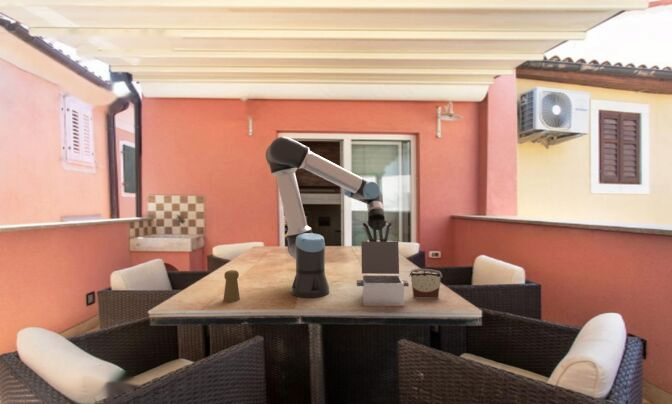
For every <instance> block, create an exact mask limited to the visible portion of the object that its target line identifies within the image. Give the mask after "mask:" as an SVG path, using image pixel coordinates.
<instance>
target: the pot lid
mask: <svg viewBox="0 0 672 404" xmlns="http://www.w3.org/2000/svg"><path fill="white" fill-rule="evenodd" d="M360 245H361V250H360V253H361V254H360V255H361V274H363V275H364V274H365V275H367V274H369V275H371V274H372V275H373V274H376V275H378V274H379V275H381V274H382V275H384V274H385V275H386V274H387V275H389V274H390V275H392V274H394V275H399V274H400V259H399V258H400V256H399V254H400V251H399V241H387V242H369V241H361V244H360Z"/></svg>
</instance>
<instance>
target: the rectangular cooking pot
mask: <svg viewBox="0 0 672 404" xmlns="http://www.w3.org/2000/svg"><path fill="white" fill-rule="evenodd" d="M409 284H410V283H409V282H408V281H407V280H402V279H401V277H400V276H399V275H388V274H387V275H386V274H385V275H384V274H382V275H381V274H379V275H378V274H376V275H373V274H372V275H371V274H369V275H367V274H365V275H364V274H363V275H362V279H357V280H356V287H362V300H363V306H365V307H405V287H409V286H410V285H409Z"/></svg>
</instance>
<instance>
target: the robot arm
mask: <svg viewBox="0 0 672 404" xmlns="http://www.w3.org/2000/svg"><path fill="white" fill-rule="evenodd" d="M265 160H266V162H267V163H268V165H269V166H268V167H269V169H270V173H271V175H272V176H274V177H275V179H276V183H277V186H278V187H277V188H278V190H279V191H278V193H279V196H280V200H281V204H282V207H283V212H284V216H285V217H284V218H285V221H286V225H287V232H286V240H287V251H288V253H289V255H290V257H292V258H294V259H295V276H294V279H293V283H292V286H291V294H292V295H293V296H295V297H297V298H298V297H299V298H307V299H308V298H319V297H323V296H326V295H328V294H329V293H330V286H329V285H330V284H329V283H328V280H327V277H326V276H327V275H326V273H325V272H326V271H325V269H326V268H325V267H326V265H325V264H326V263H325V257H326V256H325V254H326V251H325V249H326V248H325V247H326V243H325V238H324V236H323V235H321V234H319V233H313V229H312V227H310V226H309V225H308V223H307V219H306V218H307V217H306V215H305V210H304V207H303V205H304V204H303V201H302V198H301V193H300V188H299V183H298V180H297V176H296V172H297V170H299V169H303V170H306V171H307V172H310V173H312V174H313V175H315V176H318V177H319V178H322V179H324V180H326V181H328V182H330V183H332V184H334V185H336V186H338V187H340V188H343V195H344V196H346V197H348V198H350V199H353V200H356V201H359V202H361V203H364V204H366V206H367V207H366V208H367V222H363V223H362V229H363V230H364V231H365V233H366V237H367V239H368V242H388V238H389V233H390V230H391V228H392V223H391V222H389V223H388V222H387V220H386V218H385V209H384V208H385V207H384V201H383V199H384V198H383V192H382V189H381V188H380V184H378V183H377V182H376V181H372V180H367V179H365V178H363V177H361V176H359V175H357V174H355V173H353V172H351V171H349V170H347V169H346V168H343V167H341V166H340V165H338V164H336V163H334V162H332V161H330V160H328V159H326V158H324V157H322V156H320V155H319V154H316V153H314V152H313V151H311V150H310V147H308V146H307V145H304V144H303V143H301V142H299V141H297V140H295V139H293V138H291V137H288V136H278V137H277V138H275V139H274V140H272V142H271V143H270V144H269V146H268V147H267V148H266V152H265ZM370 228H371V230H372V233H371V231H370ZM384 228H385V234H384V235H383V229H384ZM377 231H378V233H377ZM377 234H378V235H379V236H378V235H377ZM383 236H384V237H383ZM378 238H379V240H378Z"/></svg>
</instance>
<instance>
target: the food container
mask: <svg viewBox="0 0 672 404" xmlns="http://www.w3.org/2000/svg"><path fill="white" fill-rule="evenodd" d="M408 275H409V276H408V277H410V279H411V280H410V281H411V287H412V288H411V289H412V296H413V299H439V297H440V296H439V295H440V288H441V287H440V286H441V278H443V273H442V272H441V271H440V270H436V269H431V268H416V269H411V270H410V272H409V274H408Z"/></svg>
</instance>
